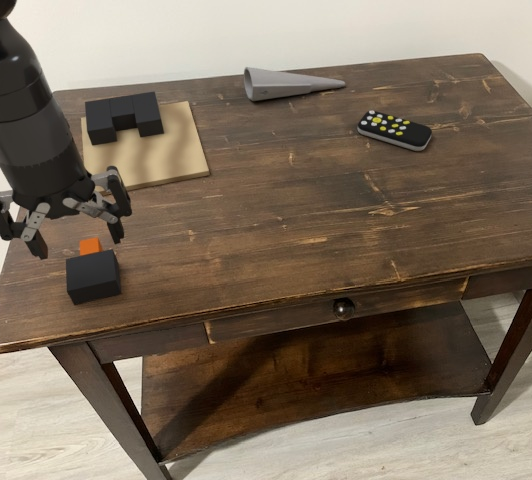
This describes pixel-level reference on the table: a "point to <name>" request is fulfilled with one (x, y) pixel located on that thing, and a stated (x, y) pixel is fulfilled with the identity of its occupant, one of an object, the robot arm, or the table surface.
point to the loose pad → (92, 273)
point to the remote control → (394, 130)
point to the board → (150, 152)
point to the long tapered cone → (283, 84)
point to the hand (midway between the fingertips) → (81, 246)
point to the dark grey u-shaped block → (122, 117)
